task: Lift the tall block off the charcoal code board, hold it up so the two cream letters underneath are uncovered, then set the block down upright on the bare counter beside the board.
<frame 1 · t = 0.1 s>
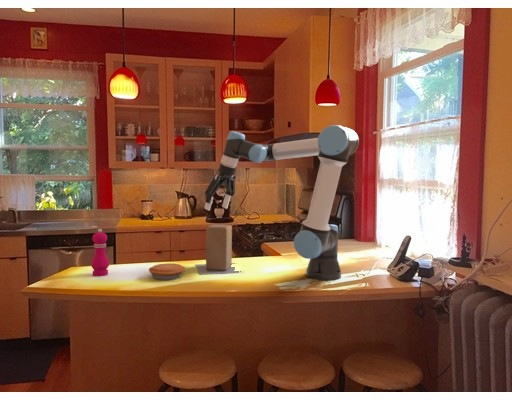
hand: (215, 208, 198), 28 cm above the countertop, tool tilted 20°, fingers open, 13 cm apart
block: (218, 268, 198), resting on code board
pie: (167, 277, 182), on the countertop
pepper mill: (100, 275, 184), on the countertop
code board: (218, 268, 198), on the countertop
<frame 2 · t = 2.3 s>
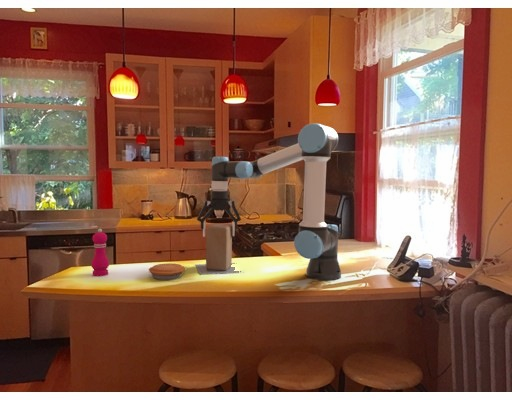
hand: (218, 236, 197), 15 cm above the countertop, tool pointing down, fingers open, 13 cm apart
nothing on the countertop moved.
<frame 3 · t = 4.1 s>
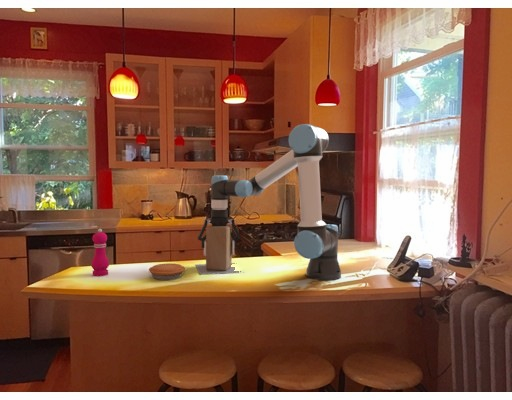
hand: (219, 254, 198), 7 cm above the countertop, tool pointing down, fingers closed on block, 12 cm apart
block: (218, 268, 198), resting on code board, touching gripper
everything else where it was.
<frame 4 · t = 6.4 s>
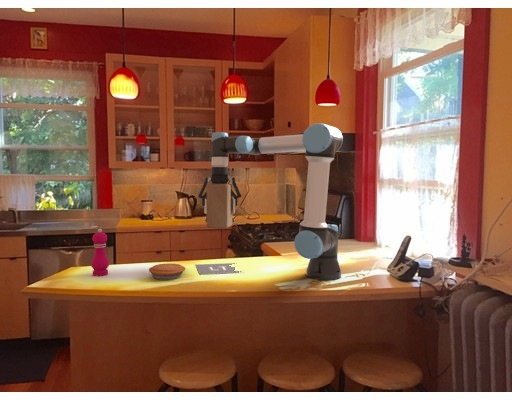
hand: (219, 213, 196), 26 cm above the countertop, tool pointing down, fingers closed on block, 12 cm apart
block: (219, 227, 197), point 19 cm above the countertop, touching gripper
everything else where it was.
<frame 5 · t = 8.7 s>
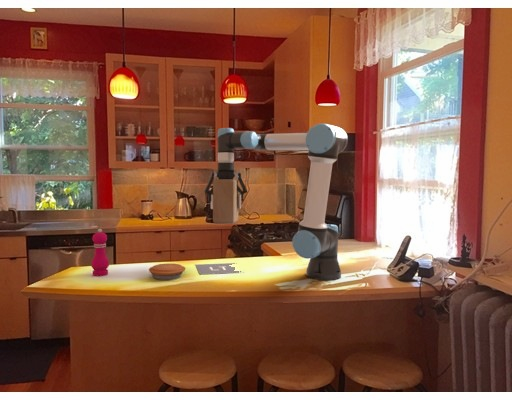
hand: (225, 208, 197), 28 cm above the countertop, tool pointing down, fingers closed on block, 12 cm apart
block: (225, 222, 198), point 21 cm above the countertop, touching gripper
everything else where it was.
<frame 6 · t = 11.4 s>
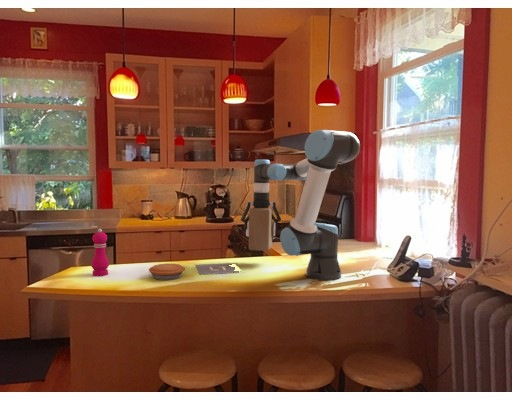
hand: (260, 235, 206), 14 cm above the countertop, tool pointing down, fingers closed on block, 12 cm apart
block: (260, 249, 207), point 8 cm above the countertop, touching gripper
everything else where it was.
when the fingers open (8 cm above the countertop, at t = 13.3 s): block drops 2 cm, on the countertop.
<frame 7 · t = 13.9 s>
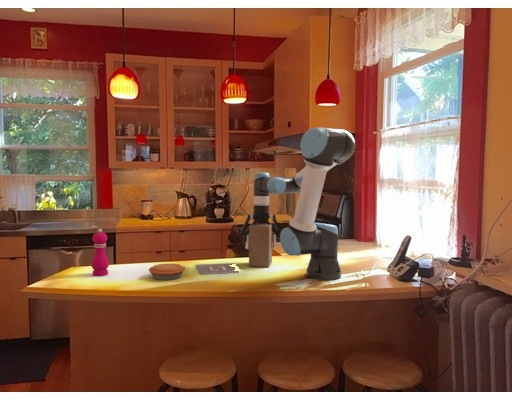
hand: (260, 248, 206), 8 cm above the countertop, tool pointing down, fingers open, 13 cm apart
block: (260, 265, 207), on the countertop
everything else where it was.
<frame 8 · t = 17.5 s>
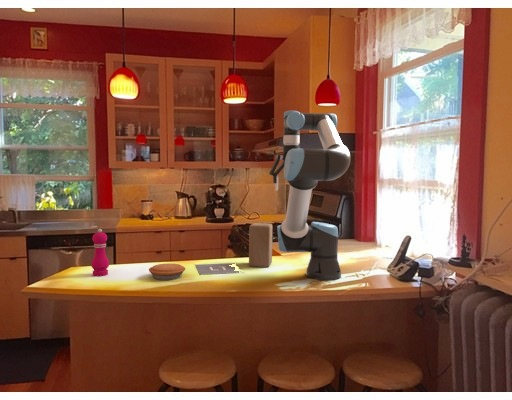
hand: (290, 190, 200), 37 cm above the countertop, tool pointing down, fingers open, 13 cm apart
nothing on the countertop moved.
at the end: block inside the target area (0.0 cm from its centre), on the countertop; block tilted 0°; block touching countertop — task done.
